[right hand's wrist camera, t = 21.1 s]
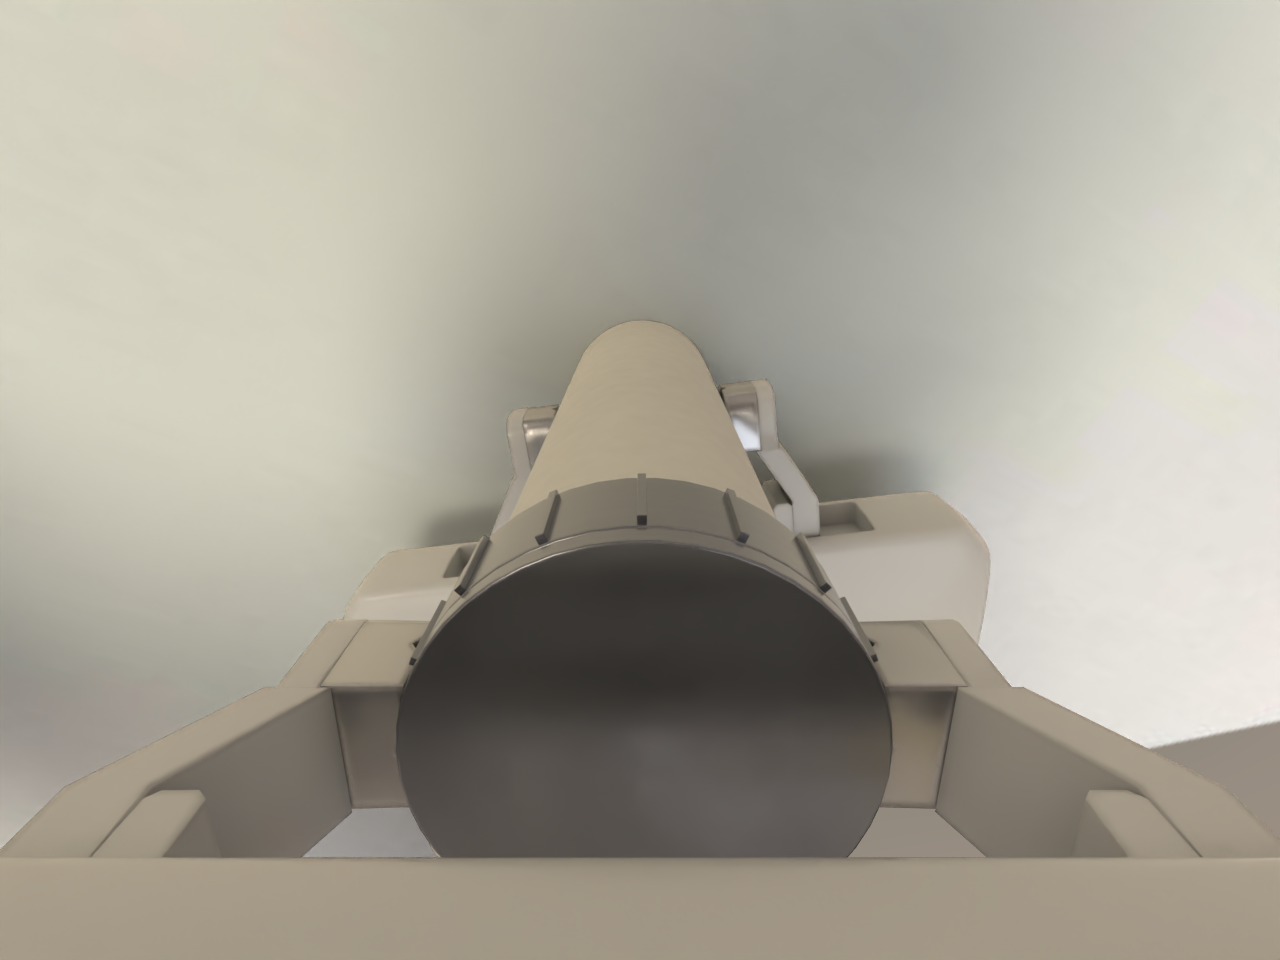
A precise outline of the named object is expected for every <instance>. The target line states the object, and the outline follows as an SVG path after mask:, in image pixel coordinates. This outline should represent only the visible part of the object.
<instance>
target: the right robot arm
mask: <svg viewBox="0 0 1280 960" xmlns="http://www.w3.org/2000/svg"><path fill="white" fill-rule="evenodd" d="M429 622H430V621H405V620H367V619H353V620H333V621H329V622H328V623H327V624H326V625H325V626H324V627H323V629H322V630H321V631H320V632H319V634H318V635H317V636H316V637H315V639H314V640H313V641H312V642H311V644H310V645H309V646H308V648H307V649H306V650H305V651H304V653H303V654H302V655H301V656H300V658H299V659H298V660H297V661H296V663H295V664H294V665H293V667H292V668H291V669H290V670H289V672H288V673H287V674H286V675H285V677H284V678H283V679H282V681H281V682H280V683H279V684H278V686H277V687H264V688H262V689H260V690H258V691H256V692H254V693H252V694H250V695H248V696H246V697H244V698H242V699H240V700H238V701H236V702H234V703H232V704H230V705H228V706H226V707H224V708H222V709H220V710H218V711H216V712H214V713H212V714H210V715H208V716H206V717H204V718H202V719H200V720H198V721H196V722H194V723H192V724H190V725H188V726H186V727H184V728H182V729H180V730H178V731H176V732H174V733H172V734H170V735H168V736H166V737H164V738H162V739H160V740H158V741H156V742H154V743H152V744H150V745H148V746H146V747H144V748H142V749H140V750H138V751H136V752H134V753H132V754H130V755H128V756H126V757H123V758H121V759H119V760H117V761H115V762H113V763H111V764H109V765H107V766H105V767H103V768H101V769H99V770H97V771H95V772H93V773H91V774H89V775H87V776H85V777H83V778H81V779H79V780H77V781H75V782H73V783H71V784H69V785H67V786H65V787H64V788H63V789H62V790H61V791H60V792H59V793H58V794H57V795H56V796H55V797H54V798H53V799H52V800H51V801H50V802H48V803H47V804H46V805H45V806H44V807H43V808H42V809H41V810H40V811H39V812H38V813H37V814H36V815H35V816H34V817H33V818H32V819H31V820H30V821H29V822H28V823H27V824H26V825H25V826H24V827H23V828H22V829H21V830H20V831H19V832H18V833H17V834H16V835H15V836H14V837H13V838H12V839H11V840H10V841H9V842H8V843H7V844H6V845H5V846H4V847H3V848H1V849H0V960H1280V838H1279V837H1278V836H1277V835H1275V834H1274V833H1273V832H1272V831H1271V830H1270V829H1269V828H1268V827H1267V826H1266V825H1265V824H1264V823H1263V822H1262V821H1261V820H1260V819H1259V818H1258V817H1257V816H1256V815H1255V814H1254V813H1253V812H1252V811H1251V810H1250V809H1249V808H1248V807H1246V806H1245V805H1244V804H1243V803H1242V802H1241V801H1240V800H1239V799H1238V798H1237V797H1236V796H1235V795H1234V794H1233V793H1232V792H1231V791H1230V790H1229V789H1228V788H1226V787H1224V786H1222V785H1220V784H1218V783H1216V782H1214V781H1212V780H1210V779H1208V778H1206V777H1204V776H1202V775H1200V774H1198V773H1196V772H1194V771H1192V770H1190V769H1188V768H1186V767H1184V766H1182V765H1180V764H1178V763H1176V762H1174V761H1172V760H1170V759H1168V758H1166V757H1164V756H1162V755H1160V754H1158V753H1156V752H1154V751H1152V750H1149V749H1147V748H1145V747H1143V746H1141V745H1139V744H1137V743H1135V742H1133V741H1131V740H1129V739H1127V738H1125V737H1123V736H1121V735H1119V734H1117V733H1115V732H1113V731H1111V730H1109V729H1107V728H1105V727H1103V726H1101V725H1099V724H1097V723H1095V722H1093V721H1091V720H1089V719H1087V718H1085V717H1083V716H1081V715H1079V714H1077V713H1075V712H1073V711H1071V710H1069V709H1067V708H1065V707H1062V706H1060V705H1058V704H1056V703H1054V702H1052V701H1050V700H1048V699H1046V698H1044V697H1042V696H1040V695H1038V694H1036V693H1034V692H1032V691H1030V690H1028V689H1026V688H1024V687H1011V685H1010V684H1009V683H1008V682H1007V681H1006V679H1005V678H1004V677H1003V676H1002V674H1001V673H1000V672H999V671H998V669H997V668H996V667H995V666H994V664H993V663H992V662H991V661H990V660H989V658H988V657H987V656H986V655H985V653H984V652H983V651H982V650H981V648H980V647H979V646H978V645H977V643H976V642H975V641H974V640H973V639H972V637H971V636H970V635H969V634H968V632H967V631H966V630H965V629H964V627H963V626H962V625H961V624H960V622H958V621H955V620H953V619H939V620H908V621H868V622H859V623H860V625H861V627H862V629H863V631H864V633H865V634H866V636H867V638H868V640H869V642H870V644H871V645H872V647H873V649H874V651H875V653H876V655H877V657H878V661H877V662H874V664H875V666H876V668H877V670H878V673H879V675H880V678H881V681H882V683H883V686H884V689H885V692H886V694H887V698H888V703H889V709H890V714H891V719H892V736H893V752H892V759H891V766H890V774H889V779H888V782H887V786H886V789H885V792H884V796H883V799H882V802H881V804H880V806H879V807H894V808H930V809H936V811H935V812H936V813H937V814H938V815H940V816H941V817H942V818H943V819H944V820H945V821H946V822H948V823H949V824H950V825H951V826H952V827H953V828H954V829H956V830H957V831H958V832H959V833H960V834H961V835H962V836H963V837H965V838H966V839H967V840H968V841H969V842H970V843H971V844H973V845H974V846H975V847H976V848H977V849H978V850H979V851H980V852H982V853H983V854H984V855H985V856H986V857H987V858H301V857H302V856H303V855H305V854H306V853H307V852H308V851H309V850H310V849H311V848H312V847H314V846H315V845H316V844H317V843H318V842H319V841H320V840H321V839H323V838H324V837H325V836H326V835H327V834H328V833H329V832H330V831H332V830H333V829H334V828H335V827H336V826H337V825H338V824H339V823H341V822H342V821H343V820H344V819H345V818H346V817H347V816H348V815H350V814H351V813H352V809H357V808H392V807H409V806H408V803H407V800H406V797H405V794H404V791H403V787H402V784H401V781H400V776H399V769H398V763H397V756H396V724H397V718H398V712H399V707H400V701H401V697H402V694H403V691H404V688H405V686H406V683H407V680H408V677H409V674H410V672H411V670H412V668H413V666H411V665H409V662H410V659H411V656H412V655H413V653H414V651H415V649H416V647H417V645H418V643H419V641H420V639H421V638H422V636H423V634H424V632H425V630H426V628H427V626H428V624H429Z"/></svg>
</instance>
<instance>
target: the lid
mask: <svg viewBox="0 0 1280 960" xmlns="http://www.w3.org/2000/svg"><path fill="white" fill-rule="evenodd" d="M877 661H878V657H877V655H876V653H875V651H874V649H873V647H872V645H871V644H870V642H869V640H868V638H867V636H866V634H865V633H864V631H863V629H862V627H861V625H860V623H859V622H858V620H857V618H856V616H855V614H854V612H853V611H852V609H851V607H850V605H849V603H848V601H847V600H846V598H845V597H842V598H839V596H838V594H837V592H836V590H835V588H834V587H833V585H832V583H831V581H830V579H829V578H828V576H827V574H826V572H825V570H824V569H823V567H822V565H821V564H820V563H819V562H818V560H817V558H816V556H815V554H814V552H813V550H812V548H811V547H810V545H809V543H808V541H807V539H806V537H805V536H804V535H803V534H802V533H799V534H798V535H797V536H796V535H795V534H794V533H792V532H791V531H790V530H789V529H788V528H787V527H786V526H784V525H783V524H782V523H780V522H779V521H778V520H776V519H775V518H774V517H772V516H771V515H769V514H768V513H767V512H765V511H763V510H762V509H760V508H758V507H756V506H754V505H752V504H750V503H749V502H747V501H745V500H743V499H741V498H739V497H737V496H736V493H735V491H734V490H731V489H729V488H727V489H726V491H725V492H723V491H720V490H718V489H715V488H712V487H708V486H703V485H699V484H695V483H691V482H687V481H680V480H671V479H662V478H646V473H638V474H637V478H624V479H616V480H609V481H601V482H596V483H592V484H588V485H584V486H581V487H577V488H573V489H569V490H567V491H564V492H562V493H558V491H557V490H554V491H551V492H549V495H548V498H547V499H545V500H542V501H541V502H539V503H537V504H535V505H534V506H532V507H530V508H528V509H526V510H525V511H523V512H521V513H519V514H518V515H517V516H515V517H514V518H513V519H511V520H510V521H509V522H507V523H506V524H505V525H503V526H502V527H501V528H499V529H498V530H497V531H496V532H495V533H494V534H493V535H492V536H491V537H490V538H488V537H486V536H485V535H484V536H483V537H482V538H481V539H480V540H479V542H478V544H477V546H476V548H475V550H474V552H473V554H472V556H471V558H470V559H469V561H468V563H467V565H466V567H465V568H464V569H463V571H462V573H461V575H460V577H459V579H458V580H457V582H456V584H455V586H454V588H453V590H452V592H451V594H450V596H449V598H448V599H447V601H444V600H441V602H440V603H439V605H438V607H437V609H436V611H435V613H434V615H433V617H432V619H431V620H430V622H429V624H428V626H427V628H426V630H425V632H424V634H423V636H422V638H421V639H420V641H419V643H418V645H417V647H416V649H415V651H414V653H413V655H412V656H411V659H410V662H409V665H411V666H413V668H412V670H411V672H410V674H409V677H408V680H407V683H406V686H405V688H404V691H403V694H402V697H401V701H400V707H399V712H398V718H397V724H396V756H397V763H398V769H399V776H400V781H401V784H402V787H403V791H404V794H405V797H406V800H407V803H408V806H409V808H410V810H411V812H412V814H413V816H414V818H415V820H416V822H417V824H418V826H419V828H420V830H421V831H422V833H423V834H424V836H425V837H426V839H427V840H428V841H429V843H430V844H431V846H432V847H433V849H434V850H435V851H436V853H437V854H438V855H439V856H440V857H441V858H847V857H848V856H849V855H850V854H851V853H852V852H853V850H854V849H855V848H856V847H857V845H858V844H859V842H860V841H861V839H862V838H863V836H864V835H865V833H866V832H867V830H868V828H869V827H870V825H871V823H872V821H873V819H874V817H875V815H876V813H877V811H878V808H879V806H880V804H881V802H882V799H883V796H884V792H885V789H886V786H887V782H888V779H889V774H890V766H891V759H892V752H893V736H892V719H891V714H890V709H889V703H888V698H887V694H886V692H885V689H884V686H883V683H882V681H881V678H880V675H879V673H878V670H877V668H876V666H875V664H874V662H877Z"/></svg>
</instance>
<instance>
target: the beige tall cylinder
mask: <svg viewBox="0 0 1280 960" xmlns="http://www.w3.org/2000/svg"><path fill="white" fill-rule="evenodd" d="M638 473H646V478H662V479H671V480H680V481H687V482H691V483H695V484H699V485H703V486H708V487H712V488H715V489H718V490H720V491H723V492H725V491H726V489H727V488H729V489H731V490H734V491H735V493H736V496H737V497H739V498H741V499H743V500H745V501H747V502H749V503H750V504H752V505H754V506H756V507H758V508H760V509H762V510H763V511H765V512H767V513H768V514H769V515H771V516H772V517H774V518H775V519H776V517H775V515H774V513H773V511H772V508H771V506H770V504H769V502H768V500H767V497H766V495H765V493H764V491H763V489H762V486H761V484H760V482H759V480H758V478H757V475H756V473H755V471H754V469H753V467H752V464H751V462H750V460H749V458H748V456H747V453H746V451H745V449H744V447H743V445H742V443H741V440H740V438H739V436H738V434H737V432H736V429H735V427H734V425H733V423H732V421H731V418H730V416H729V414H728V412H727V410H726V407H725V405H724V403H723V401H722V399H721V396H720V394H719V392H718V390H717V388H716V386H715V383H714V381H713V379H712V377H711V375H710V372H709V370H708V368H707V366H706V364H705V361H704V359H703V357H702V356H701V354H700V352H699V350H698V349H697V348H696V346H695V345H694V344H693V343H692V342H691V341H690V340H689V339H688V338H687V337H686V336H685V335H683V334H682V333H681V332H679V331H678V330H676V329H674V328H673V327H670V326H668V325H665V324H662V323H659V322H654V321H646V320H642V321H630V322H625V323H622V324H619V325H616V326H614V327H612V328H610V329H608V330H606V331H605V332H603V333H602V334H601V335H599V336H598V337H597V338H596V339H595V340H594V341H593V342H592V343H591V344H590V345H589V346H588V348H587V349H586V350H585V352H584V354H583V356H582V357H581V359H580V361H579V364H578V366H577V368H576V370H575V373H574V375H573V377H572V380H571V382H570V384H569V386H568V389H567V391H566V393H565V395H564V398H563V400H562V402H561V404H560V407H559V409H558V411H557V414H556V416H555V418H554V420H553V423H552V425H551V427H550V429H549V432H548V434H547V436H546V438H545V441H544V443H543V445H542V448H541V450H540V452H539V454H538V457H537V459H536V461H535V463H534V466H533V468H532V470H531V472H530V475H529V477H528V479H527V481H526V484H525V486H524V488H523V491H522V493H521V495H520V497H519V500H518V502H517V504H516V506H515V509H514V511H513V513H512V515H511V518H510V520H511V519H513V518H514V517H515V516H517V515H518V514H519V513H521V512H523V511H525V510H526V509H528V508H530V507H532V506H534V505H535V504H537V503H539V502H541V501H542V500H545V499H547V498H548V495H549V492H551V491H554V490H557V491H558V493H562V492H564V491H567V490H569V489H573V488H577V487H581V486H584V485H588V484H592V483H596V482H601V481H609V480H616V479H624V478H637V474H638ZM510 520H509V521H510ZM776 520H777V519H776Z"/></svg>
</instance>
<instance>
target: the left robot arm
mask: <svg viewBox="0 0 1280 960" xmlns="http://www.w3.org/2000/svg"><path fill="white" fill-rule="evenodd" d="M719 394H720V396H721V399H722V401H723V403H724V405H725V407H726V410H727V412H728V414H729V416H730V418H731V421H732V423H733V425H734V427H735V429H736V432H737V434H738V436H739V438H740V440H741V443H742V445H743V447H744V449H745V451H746V452H747V451H756V452H757V454H758V455H759V456H760V458H761V459H762V461H763V462H764V463H765V465H766V466H767V467H768V469H769V470H770V472H771V473H772V474H773V476H774V477H775V478H776V480H770V481H765V482H764V483H763V484H762V489H763V491H764V493H765V495H766V497H767V500H768V502H769V504H770V506H771V508H772V511H773V513H774V515H775V517H776V519H777V520H778V521H779V522H780V523H782V524H783V525H784V526H786V527H787V528H788V529H789V530H790V531H791V532H792V533H794V534H795V535H796V536H797V535H798V534H799V533H802V534H803V535H804V536H805V537H806V539H807V541H808V543H809V545H810V547H811V548H812V550H813V552H814V554H815V556H816V558H817V560H818V562H819V563H820V564H821V565H822V567H823V569H824V570H825V572H826V574H827V576H828V578H829V579H830V581H831V583H832V585H833V587H834V588H835V590H836V592H837V594H838V596H839V598H842V597H845V598H846V600H847V601H848V603H849V605H850V607H851V609H852V611H853V612H854V614H855V616H856V618H857V620H858V622H868V621H908V620H939V619H953V620H955V621H958V622H960V624H961V625H962V626H963V627H964V629H965V630H966V631H967V632H968V634H969V635H970V636H971V637H972V639H973V640H974V641H975V642H976V643H977V645H978V642H979V638H980V633H981V628H982V623H983V617H984V612H985V606H986V599H987V592H988V584H989V576H990V553H989V550H988V547H987V545H986V543H985V541H984V539H983V538H982V537H981V535H980V534H979V533H978V532H977V530H976V529H975V528H974V527H973V526H972V525H971V524H970V523H969V522H968V521H967V520H966V519H965V518H964V517H963V516H962V515H961V514H960V513H959V512H958V511H956V510H955V509H954V508H953V507H951V506H950V505H949V504H948V503H946V502H945V501H944V500H942V499H941V498H940V497H938V496H937V495H935V494H933V493H931V492H927V491H916V492H908V493H899V494H890V495H881V496H873V497H864V498H855V499H846V500H837V501H829V502H820V503H819V499H818V498H817V496H816V494H815V493H814V491H813V490H812V488H811V486H810V485H809V483H808V482H807V480H806V479H805V477H804V475H803V474H802V473H801V471H800V470H799V468H798V467H797V466H796V464H795V463H794V461H793V460H792V459H791V457H790V456H789V454H788V453H787V452H786V450H785V449H784V447H783V446H782V445H781V443H780V442H779V440H778V438H777V423H776V407H775V397H774V392H773V388H772V386H771V384H770V383H769V382H768V381H767V379H761V380H753V381H744V382H737V383H730V384H722V385H719ZM559 407H560V405H551V406H541V407H532V408H522V409H515V410H512V412H511V413H510V415H509V416H508V418H507V436H508V442H509V447H510V452H511V457H512V462H513V467H514V473H515V474H514V476H513V478H512V480H511V483H510V485H509V488H508V491H507V493H506V496H505V499H504V501H503V504H502V506H501V509H500V512H499V514H498V517H497V519H496V522H495V525H494V527H493V530H492V532H491V535H490V537H491V536H492V535H493V534H494V533H495V532H496V531H497V530H498V529H499V528H501V527H502V526H503V525H505V524H506V523H507V522H509V520H510V518H511V515H512V513H513V511H514V509H515V506H516V504H517V502H518V500H519V497H520V495H521V493H522V491H523V488H524V486H525V484H526V481H527V479H528V477H529V475H530V472H531V470H532V468H533V466H534V463H535V461H536V459H537V457H538V454H539V452H540V450H541V448H542V445H543V443H544V441H545V438H546V436H547V434H548V432H549V429H550V427H551V425H552V423H553V420H554V418H555V416H556V414H557V411H558V409H559ZM478 542H479V541H477V542H468V543H459V544H450V545H441V546H432V547H424V548H415V549H405V550H397V551H393V552H390V553H388V554H387V555H385V556H384V557H383V558H382V559H381V560H380V561H379V562H378V563H377V564H376V565H375V567H374V568H373V569H372V570H371V571H370V573H369V574H368V575H367V576H366V577H365V579H364V580H363V581H362V583H361V584H360V586H359V587H358V589H357V590H356V592H355V593H354V595H353V597H352V599H351V600H350V602H349V604H348V607H347V609H346V611H345V614H344V618H343V620H353V619H367V620H405V621H430V620H431V619H432V617H433V615H434V613H435V611H436V609H437V607H438V605H439V603H440V602H441V600H444V601H447V599H448V598H449V596H450V594H451V592H452V590H453V588H454V586H455V584H456V582H457V580H458V579H459V577H460V575H461V573H462V571H463V569H464V568H465V567H466V565H467V563H468V561H469V559H470V558H471V556H472V554H473V552H474V550H475V548H476V546H477V544H478ZM429 844H430V843H429ZM430 846H431V844H430ZM431 848H432V850H433V852H434V853H435V854H436V855H437V856H438V857H439V858H441V857H440V856H439V855H438V854H437V853H436V851H435V850H434V849H433V847H432V846H431Z"/></svg>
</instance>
